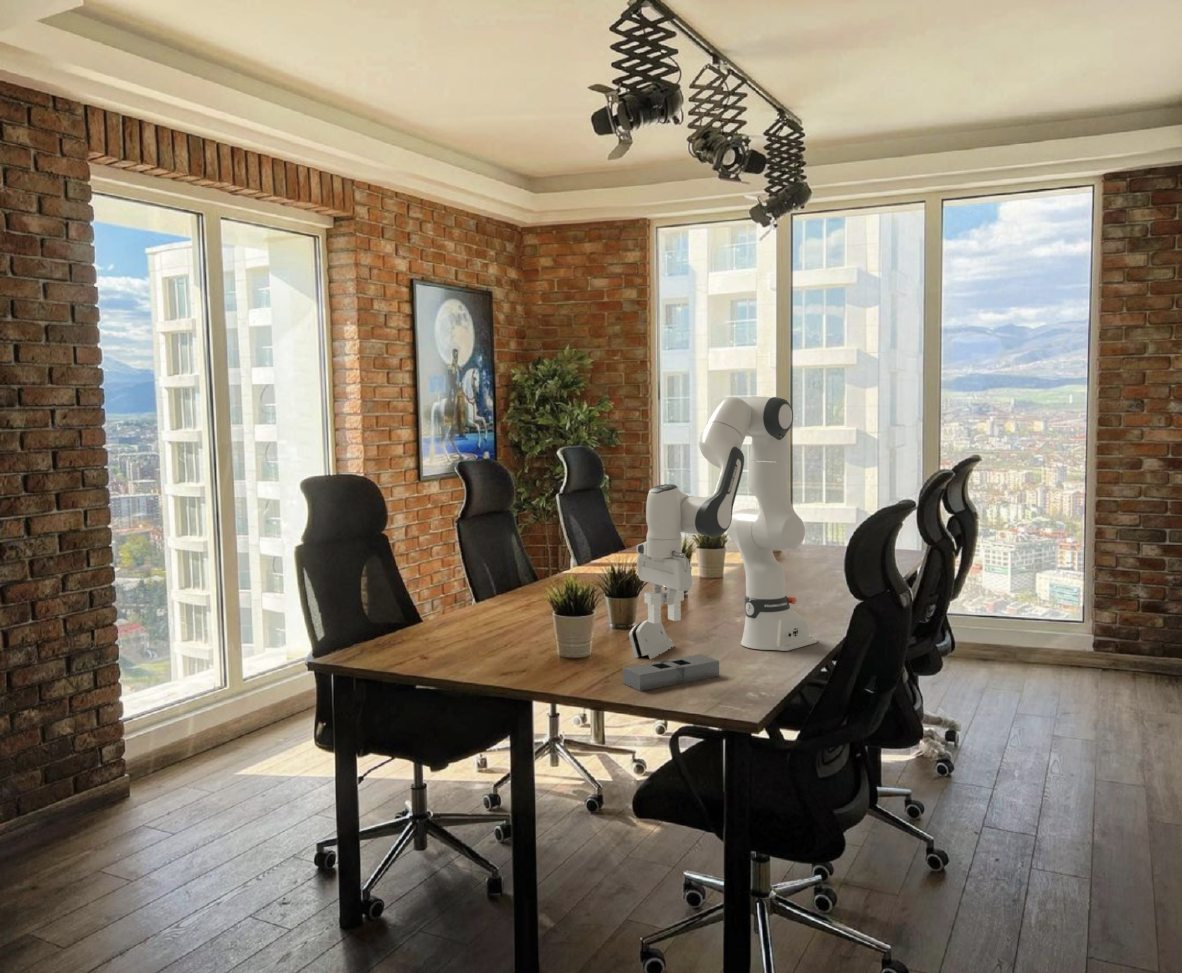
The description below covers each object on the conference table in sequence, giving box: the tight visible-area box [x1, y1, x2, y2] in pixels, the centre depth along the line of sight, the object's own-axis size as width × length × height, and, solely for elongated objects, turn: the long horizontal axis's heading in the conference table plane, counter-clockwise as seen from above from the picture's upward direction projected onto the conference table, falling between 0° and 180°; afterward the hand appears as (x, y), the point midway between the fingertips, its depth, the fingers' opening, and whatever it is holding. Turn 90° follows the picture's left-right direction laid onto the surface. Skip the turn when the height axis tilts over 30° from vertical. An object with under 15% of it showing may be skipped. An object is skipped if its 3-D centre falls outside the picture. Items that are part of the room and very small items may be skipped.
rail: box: [622, 654, 720, 692], centre depth 248 cm, size 24×8×4 cm, turn 119°
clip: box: [643, 589, 685, 624], centre depth 248 cm, size 10×3×8 cm, turn 119°
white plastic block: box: [628, 619, 675, 660], centre depth 277 cm, size 17×5×10 cm, turn 152°
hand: (664, 603), depth 248 cm, fingers closed on clip, 3 cm apart
